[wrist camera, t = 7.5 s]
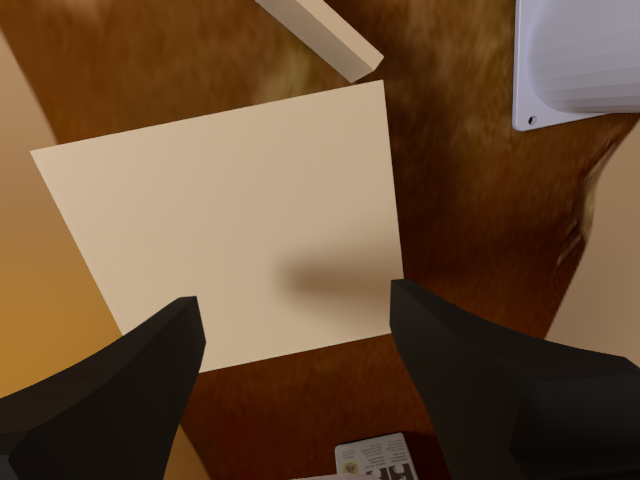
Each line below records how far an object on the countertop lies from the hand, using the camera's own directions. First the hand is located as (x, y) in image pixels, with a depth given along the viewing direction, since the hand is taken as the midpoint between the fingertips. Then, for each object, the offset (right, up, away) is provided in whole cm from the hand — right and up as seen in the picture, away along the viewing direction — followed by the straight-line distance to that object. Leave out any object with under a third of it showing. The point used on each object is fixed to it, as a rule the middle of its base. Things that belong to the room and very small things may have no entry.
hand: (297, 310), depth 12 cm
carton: (-3, +4, +8) cm, 10 cm away
